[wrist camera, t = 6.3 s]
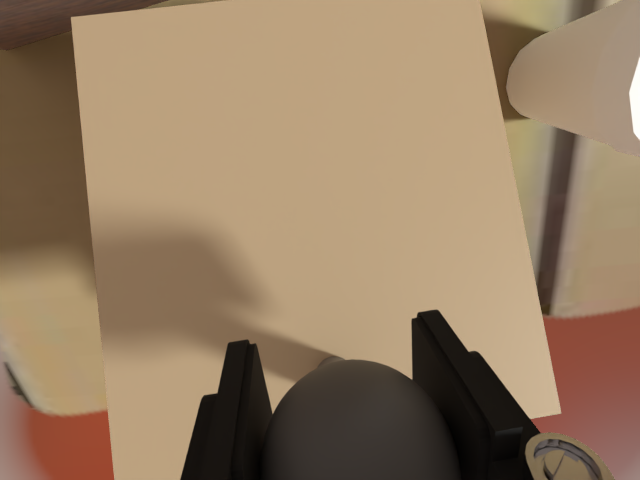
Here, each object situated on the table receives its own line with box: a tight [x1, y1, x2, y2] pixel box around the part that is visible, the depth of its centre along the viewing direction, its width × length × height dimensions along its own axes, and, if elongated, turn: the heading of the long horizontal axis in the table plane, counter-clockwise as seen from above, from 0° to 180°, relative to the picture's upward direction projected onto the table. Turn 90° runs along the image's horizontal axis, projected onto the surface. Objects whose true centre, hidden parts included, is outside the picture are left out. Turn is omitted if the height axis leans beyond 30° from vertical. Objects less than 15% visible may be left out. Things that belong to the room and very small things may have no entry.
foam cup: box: [506, 0, 640, 157], centre depth 23 cm, size 10×9×13 cm
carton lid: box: [71, 0, 561, 480], centre depth 11 cm, size 20×18×10 cm
